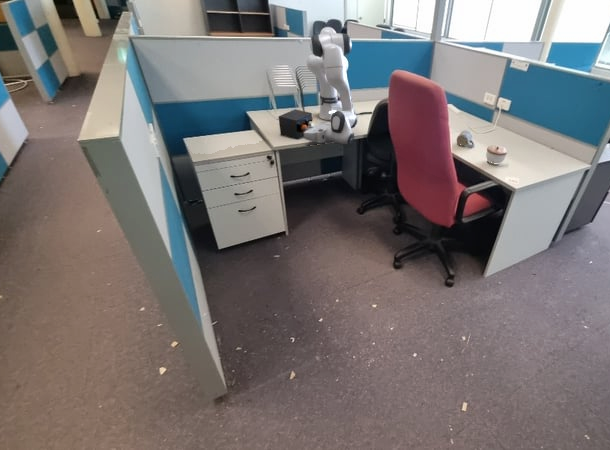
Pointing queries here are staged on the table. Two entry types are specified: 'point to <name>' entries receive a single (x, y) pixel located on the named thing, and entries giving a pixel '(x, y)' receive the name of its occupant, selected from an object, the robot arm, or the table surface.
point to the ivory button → (311, 124)
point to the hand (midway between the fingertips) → (306, 128)
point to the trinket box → (495, 154)
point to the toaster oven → (294, 123)
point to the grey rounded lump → (465, 139)
